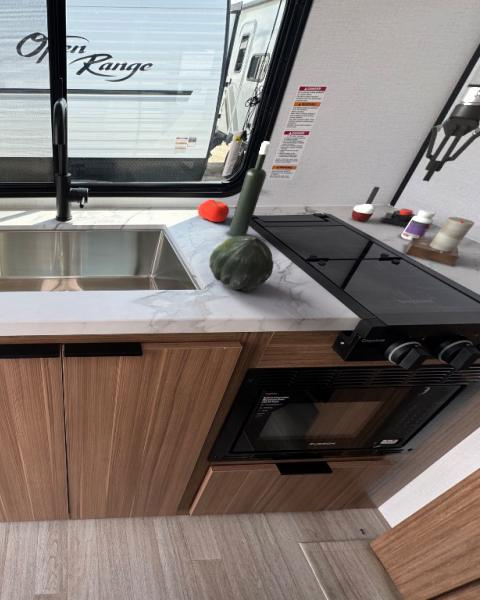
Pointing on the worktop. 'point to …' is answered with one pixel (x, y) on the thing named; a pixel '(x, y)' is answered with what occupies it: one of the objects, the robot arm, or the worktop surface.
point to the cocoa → (365, 208)
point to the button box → (397, 219)
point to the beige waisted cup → (451, 234)
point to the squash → (242, 262)
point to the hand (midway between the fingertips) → (425, 180)
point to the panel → (431, 252)
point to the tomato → (213, 210)
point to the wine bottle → (249, 195)
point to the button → (406, 212)
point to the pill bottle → (418, 225)
